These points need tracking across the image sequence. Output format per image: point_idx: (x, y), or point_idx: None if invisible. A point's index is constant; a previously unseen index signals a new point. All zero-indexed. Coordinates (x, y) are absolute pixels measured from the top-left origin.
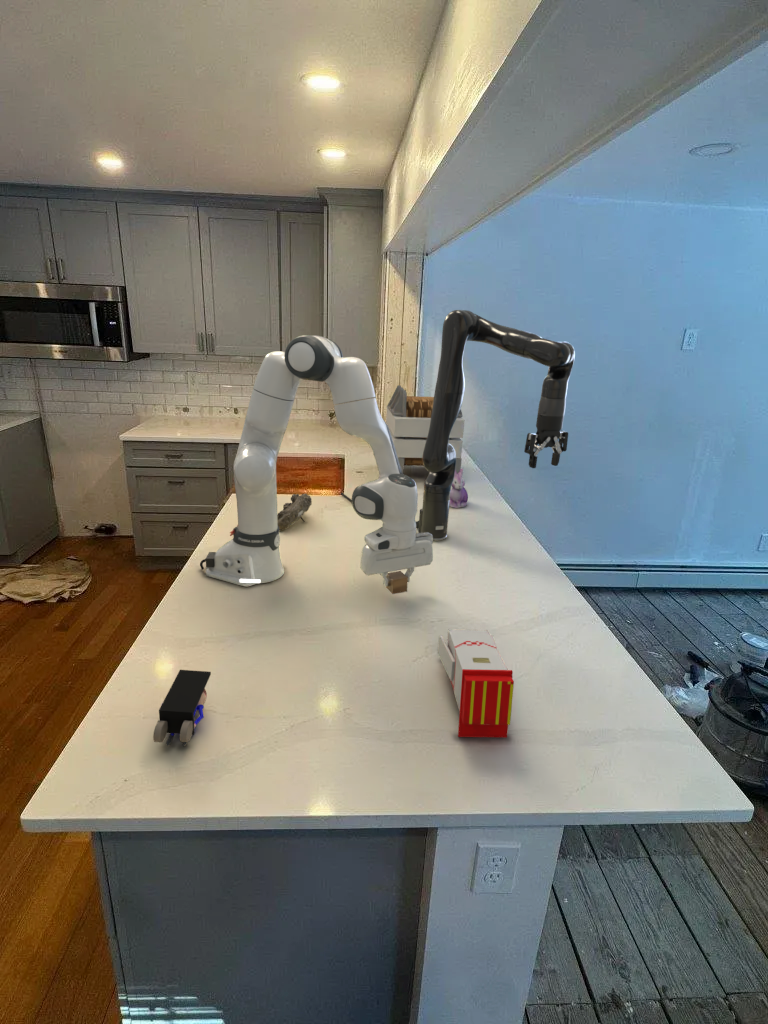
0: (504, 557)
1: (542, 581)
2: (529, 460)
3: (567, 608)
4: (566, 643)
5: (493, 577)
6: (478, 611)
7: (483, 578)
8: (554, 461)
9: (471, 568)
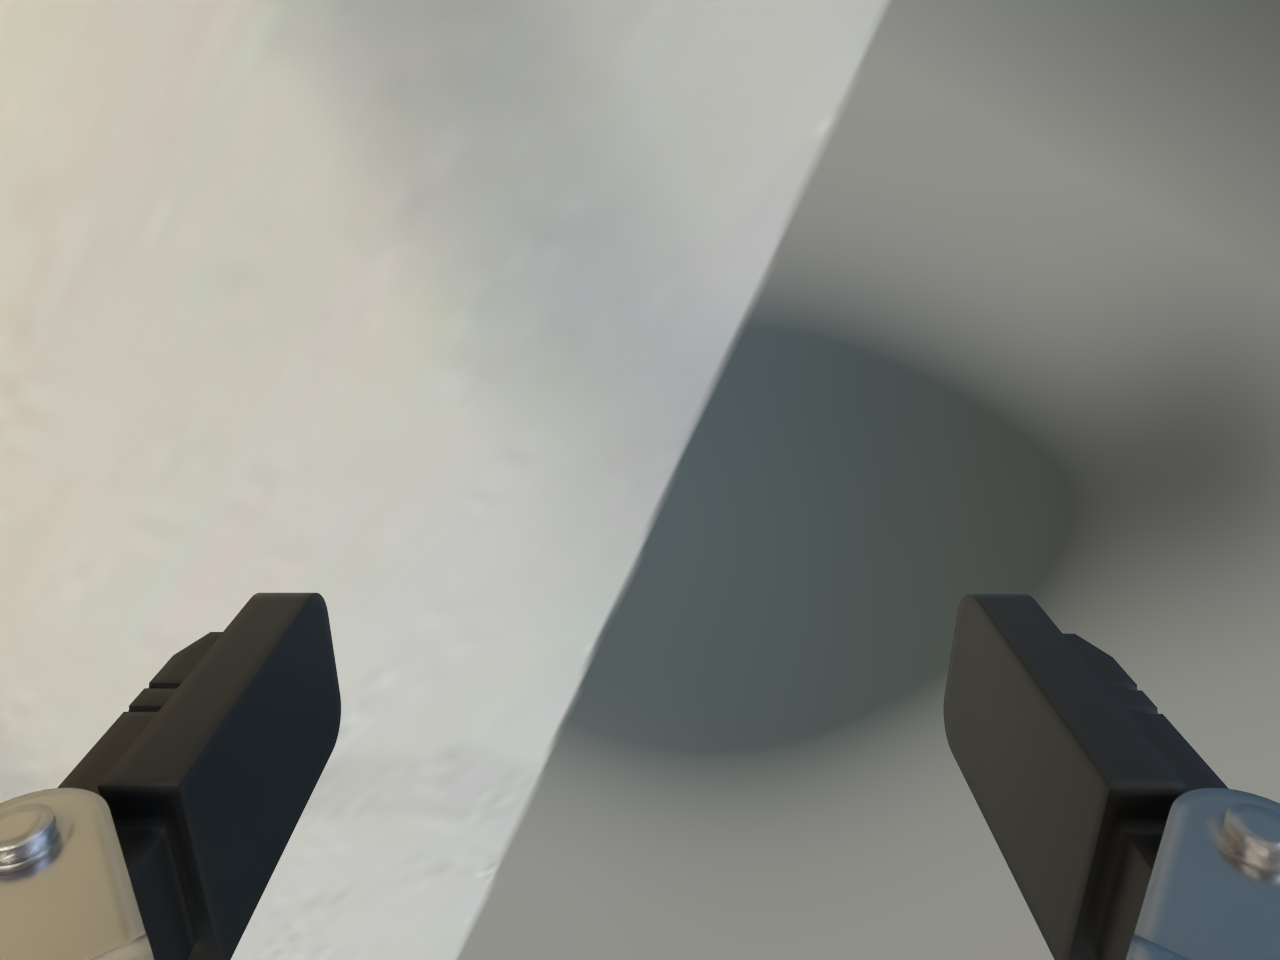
0: (515, 127)
1: (532, 515)
2: (127, 725)
3: (462, 761)
4: (274, 930)
5: (267, 368)
6: (11, 642)
7: (197, 357)
8: (981, 735)
9: (181, 200)
